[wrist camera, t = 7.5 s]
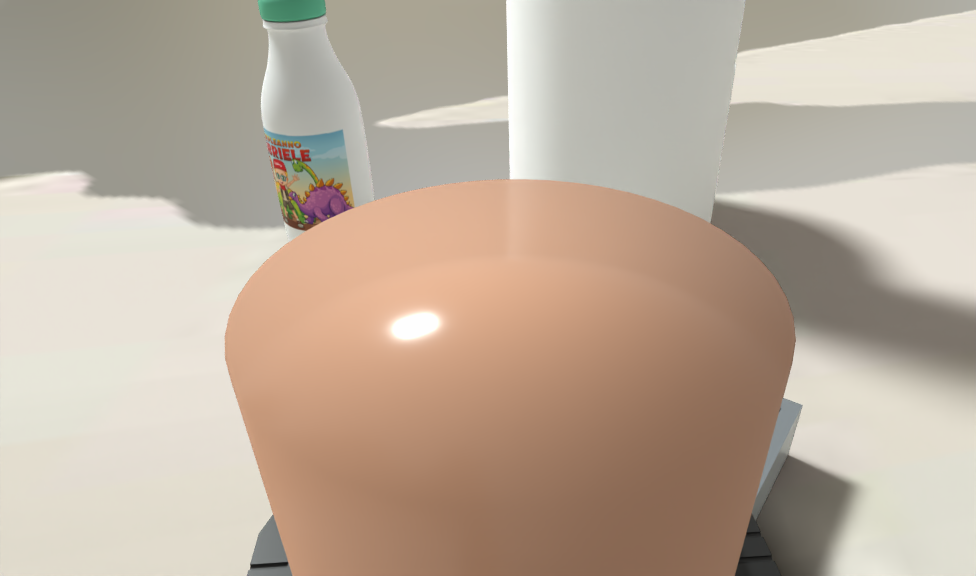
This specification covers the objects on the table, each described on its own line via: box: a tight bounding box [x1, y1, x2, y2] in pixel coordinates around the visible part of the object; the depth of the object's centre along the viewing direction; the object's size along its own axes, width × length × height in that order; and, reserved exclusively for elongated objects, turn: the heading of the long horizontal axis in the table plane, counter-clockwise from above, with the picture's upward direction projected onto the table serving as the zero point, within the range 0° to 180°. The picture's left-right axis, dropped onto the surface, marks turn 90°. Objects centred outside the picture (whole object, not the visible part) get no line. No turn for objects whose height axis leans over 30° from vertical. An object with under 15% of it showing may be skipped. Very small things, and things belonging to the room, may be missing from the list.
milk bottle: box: [258, 0, 375, 242], centre depth 52 cm, size 8×8×20 cm
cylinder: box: [506, 0, 746, 223], centre depth 51 cm, size 17×17×28 cm
